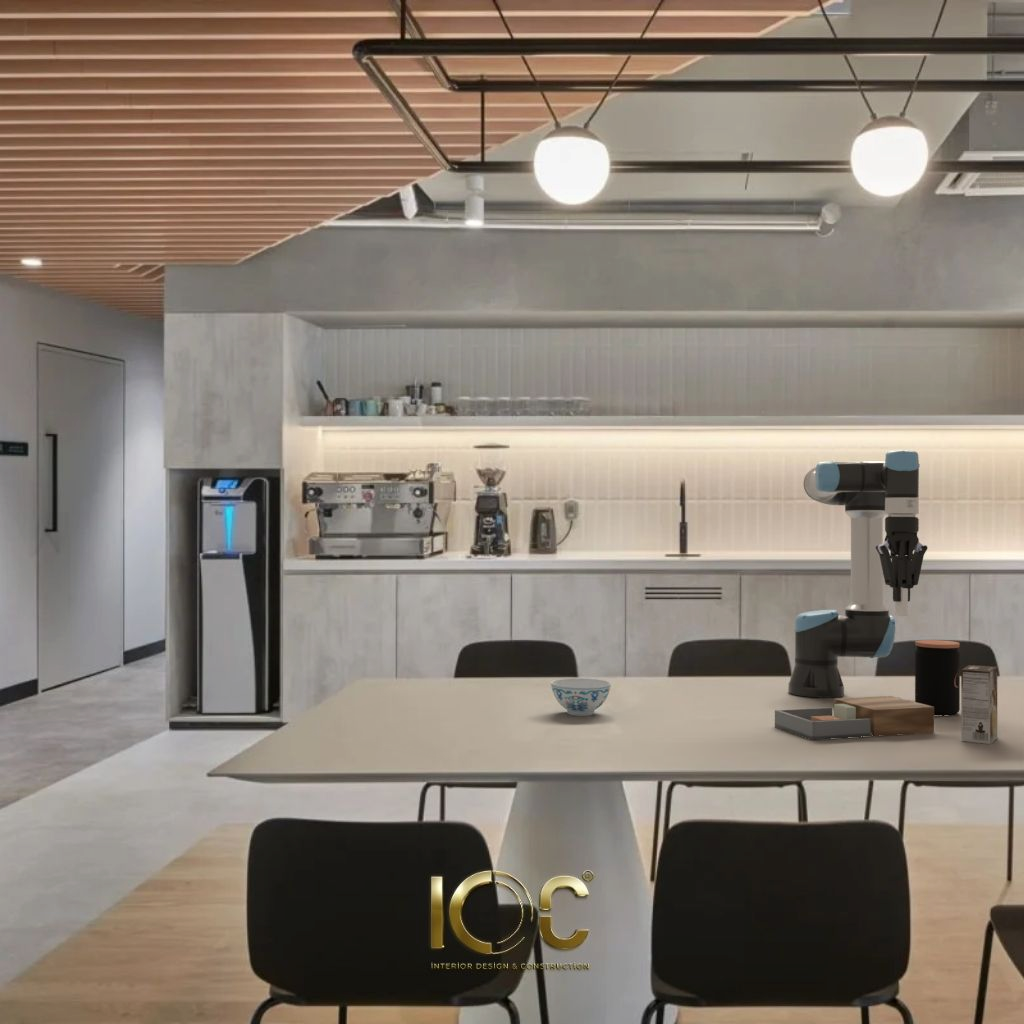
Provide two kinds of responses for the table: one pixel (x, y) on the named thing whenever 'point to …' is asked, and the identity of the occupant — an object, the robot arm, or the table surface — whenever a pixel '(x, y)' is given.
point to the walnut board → (892, 714)
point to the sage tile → (844, 711)
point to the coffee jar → (938, 675)
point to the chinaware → (580, 694)
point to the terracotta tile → (823, 718)
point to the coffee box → (979, 704)
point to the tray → (820, 724)
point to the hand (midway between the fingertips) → (901, 615)
